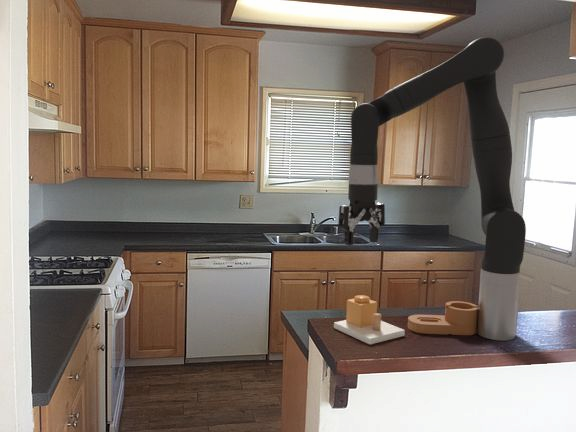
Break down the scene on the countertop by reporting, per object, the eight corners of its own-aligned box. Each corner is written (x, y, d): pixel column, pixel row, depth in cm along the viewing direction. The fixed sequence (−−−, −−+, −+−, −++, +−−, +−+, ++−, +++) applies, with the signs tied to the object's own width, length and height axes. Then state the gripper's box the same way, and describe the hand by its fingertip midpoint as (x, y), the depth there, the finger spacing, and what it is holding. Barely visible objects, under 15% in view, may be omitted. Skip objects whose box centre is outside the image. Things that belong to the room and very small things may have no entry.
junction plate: (367, 320, 144) (368, 301, 144) (404, 335, 133) (405, 314, 132) (333, 327, 138) (334, 307, 137) (369, 344, 126) (370, 322, 125)
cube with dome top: (361, 318, 141) (362, 293, 140) (376, 324, 137) (377, 298, 136) (346, 321, 138) (347, 296, 137) (360, 327, 134) (361, 301, 133)
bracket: (471, 326, 142) (473, 301, 141) (480, 336, 134) (482, 311, 133) (405, 323, 143) (406, 299, 142) (410, 334, 135) (411, 308, 134)
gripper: (352, 183, 127) (350, 248, 129) (393, 182, 135) (391, 243, 137) (332, 182, 133) (331, 244, 135) (373, 180, 141) (371, 239, 143)
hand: (361, 243), depth 136 cm, fingers open, 8 cm apart
